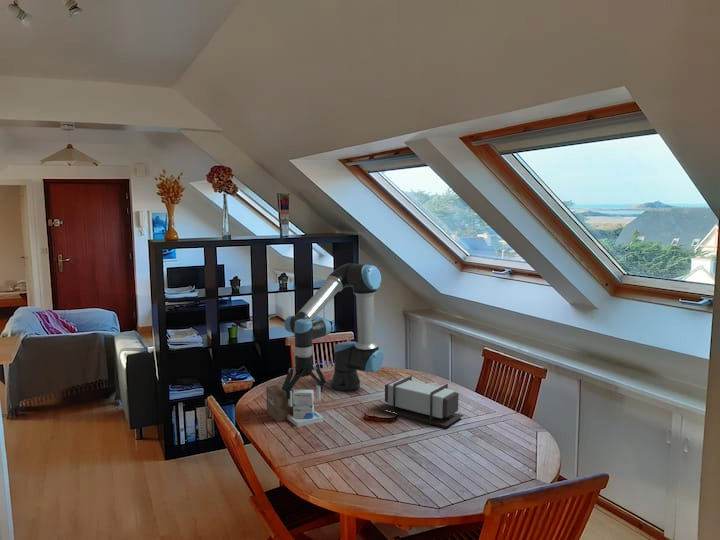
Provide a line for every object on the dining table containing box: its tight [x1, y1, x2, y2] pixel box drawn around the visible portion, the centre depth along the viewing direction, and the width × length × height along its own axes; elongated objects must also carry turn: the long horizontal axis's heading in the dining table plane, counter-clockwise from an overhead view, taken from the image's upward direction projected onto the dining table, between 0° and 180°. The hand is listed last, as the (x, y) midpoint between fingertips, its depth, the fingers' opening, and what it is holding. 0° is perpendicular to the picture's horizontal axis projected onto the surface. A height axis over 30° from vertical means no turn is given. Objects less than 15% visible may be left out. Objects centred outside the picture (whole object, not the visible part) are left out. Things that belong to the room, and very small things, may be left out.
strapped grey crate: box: [379, 375, 464, 429], centre depth 251 cm, size 15×15×35 cm
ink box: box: [293, 388, 315, 419], centre depth 245 cm, size 9×5×12 cm, turn 84°
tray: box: [286, 410, 324, 428], centre depth 246 cm, size 12×12×2 cm
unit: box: [265, 383, 294, 422], centre depth 250 cm, size 8×12×12 cm
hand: (304, 402), depth 245 cm, fingers open, 13 cm apart
